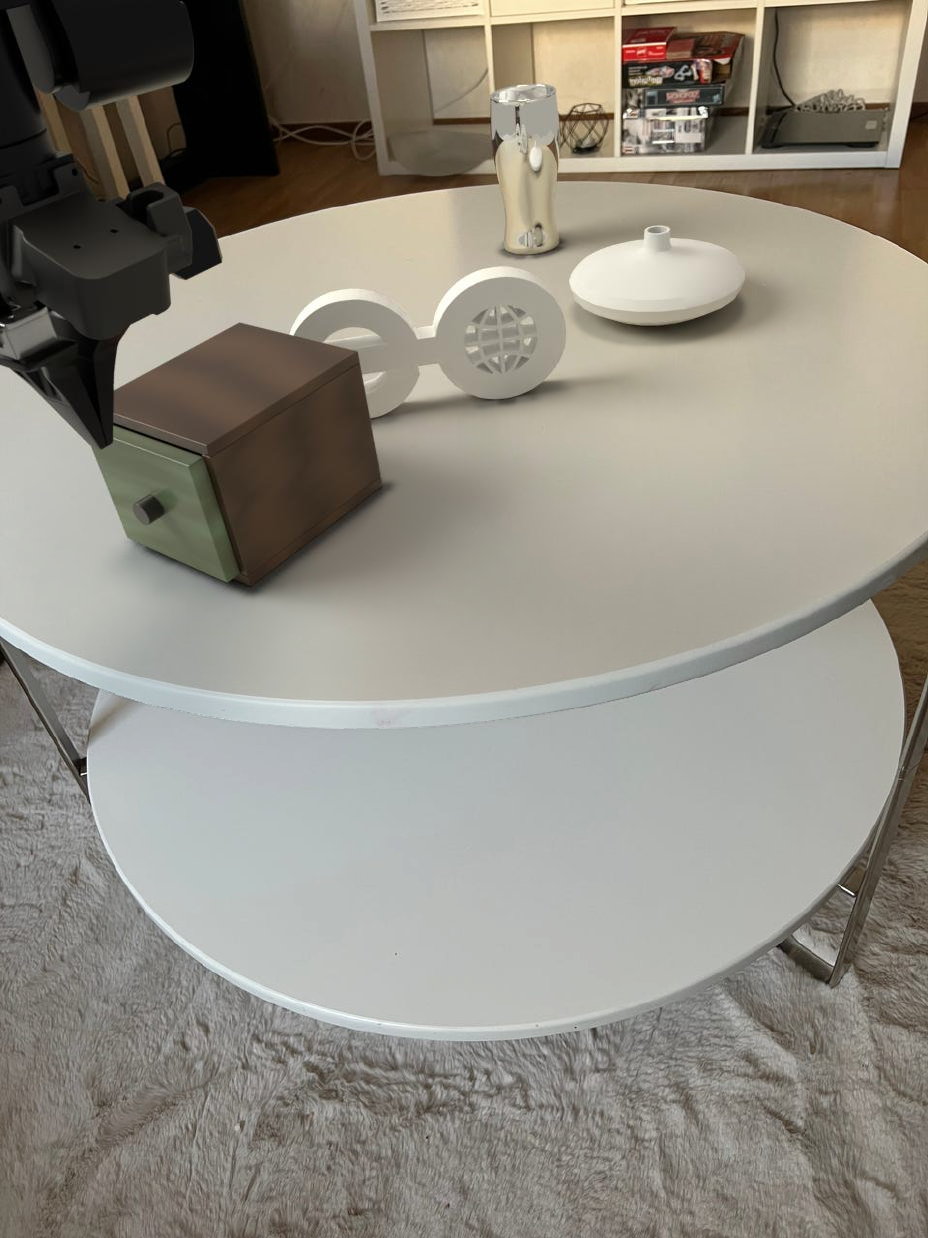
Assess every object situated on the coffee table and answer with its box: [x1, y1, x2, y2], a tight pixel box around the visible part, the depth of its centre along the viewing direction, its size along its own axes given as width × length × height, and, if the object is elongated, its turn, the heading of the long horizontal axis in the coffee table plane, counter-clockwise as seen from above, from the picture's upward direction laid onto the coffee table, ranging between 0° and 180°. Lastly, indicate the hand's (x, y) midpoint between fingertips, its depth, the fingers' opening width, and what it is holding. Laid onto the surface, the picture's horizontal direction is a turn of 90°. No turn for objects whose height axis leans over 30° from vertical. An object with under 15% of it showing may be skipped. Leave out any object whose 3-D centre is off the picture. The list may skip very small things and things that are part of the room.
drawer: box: [90, 425, 240, 583], centre depth 66 cm, size 14×10×9 cm
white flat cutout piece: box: [289, 265, 567, 419], centre depth 78 cm, size 22×2×10 cm, turn 97°
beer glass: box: [489, 83, 561, 256], centre depth 101 cm, size 7×7×15 cm
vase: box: [568, 225, 746, 326], centre depth 88 cm, size 16×16×7 cm
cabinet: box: [113, 322, 383, 587], centre depth 68 cm, size 14×12×11 cm
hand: (102, 445), depth 54 cm, fingers closed
